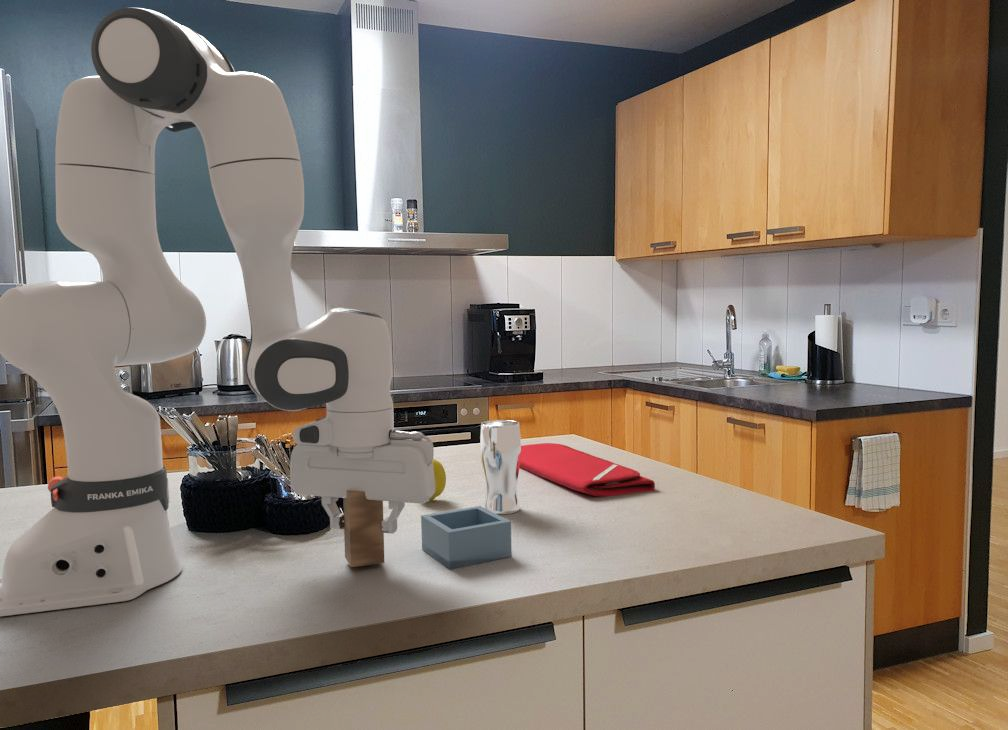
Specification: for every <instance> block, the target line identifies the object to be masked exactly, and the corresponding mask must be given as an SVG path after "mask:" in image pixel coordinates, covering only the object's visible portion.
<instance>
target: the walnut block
mask: <svg viewBox="0 0 1008 730" xmlns="http://www.w3.org/2000/svg"><path fill="white" fill-rule="evenodd" d="M346 492H347V495H346V498H342V499H343V501H342V502H343V503H342V504H343V514H344V528H343V532H344V533H343V534H344V535H343V536H344V557H345V559H346V561H347V563H348V565H349V566H350V568H354V567H355V568H356V567H364V566H369V565H377V564H383V563H384V564H385V538H384V537H385V535H384V534H385V533H383V532H382V528H383V527H382V520H384V501H379V500H368V499H367V498H366V496H365V492H364V491H350V490H346Z"/></svg>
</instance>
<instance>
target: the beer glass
mask: <svg viewBox="0 0 1008 730" xmlns="http://www.w3.org/2000/svg"><path fill="white" fill-rule="evenodd" d="M520 426H521V425H520V422H519V421H517V420H510V419H496V420H495V419H493V420H486V421H482V422H481V423H480V436H479V439H480V443H479V448H480V451H479V453H480V459H481V466H482V470H483V476H484V481H485V501H484V505H483V506H484V507H483V508H485V509H487V510H489V511H491V512H493V513H495V514H497V515H499V516H501V515H509V514H510V515H511V514H515V513H518V512H519V511H520V509H521V507H520V503H519V497H518V496H519V495H518V481H519V480H518V479H519V475H520V474H519V473H520V468H521V467H520V460H521V446H522V438H521V437H522V436H521V428H520Z"/></svg>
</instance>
